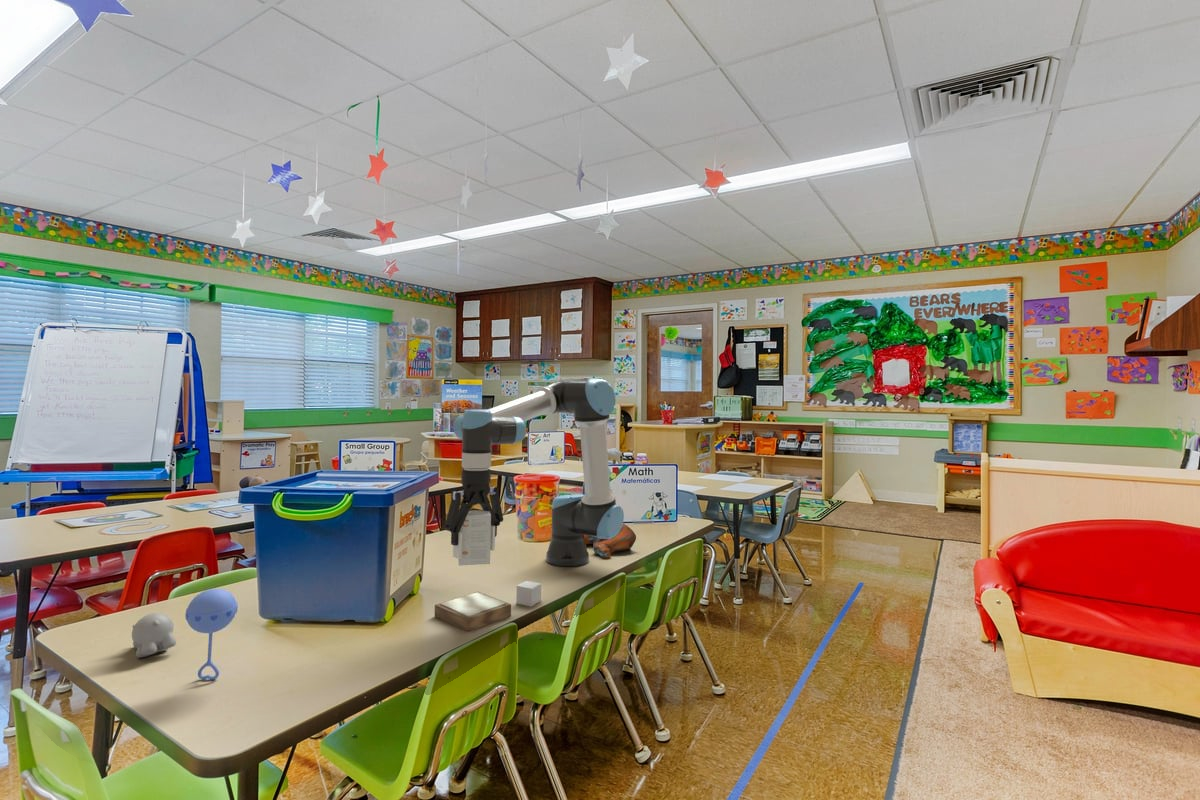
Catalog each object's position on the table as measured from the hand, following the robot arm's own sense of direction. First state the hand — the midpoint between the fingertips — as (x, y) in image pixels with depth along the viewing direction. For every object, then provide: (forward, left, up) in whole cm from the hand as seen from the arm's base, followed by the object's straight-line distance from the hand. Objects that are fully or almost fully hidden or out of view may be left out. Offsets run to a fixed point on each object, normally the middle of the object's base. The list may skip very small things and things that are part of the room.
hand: (474, 553), depth 150 cm
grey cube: (-17, +3, -17) cm, 24 cm away
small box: (0, 0, -2) cm, 2 cm away
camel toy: (-75, -20, -17) cm, 79 cm away
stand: (0, 0, -17) cm, 17 cm away
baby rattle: (+56, -11, -17) cm, 59 cm away
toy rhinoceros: (+61, -34, -17) cm, 72 cm away
